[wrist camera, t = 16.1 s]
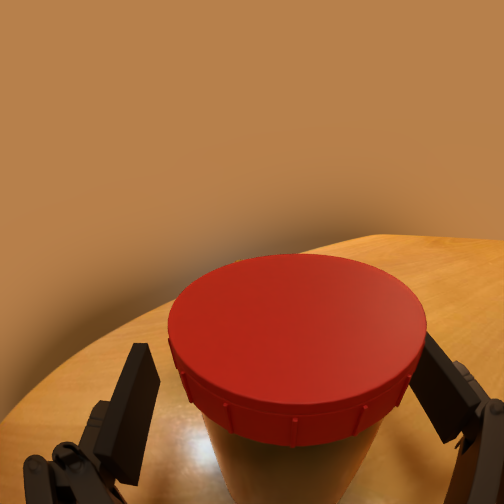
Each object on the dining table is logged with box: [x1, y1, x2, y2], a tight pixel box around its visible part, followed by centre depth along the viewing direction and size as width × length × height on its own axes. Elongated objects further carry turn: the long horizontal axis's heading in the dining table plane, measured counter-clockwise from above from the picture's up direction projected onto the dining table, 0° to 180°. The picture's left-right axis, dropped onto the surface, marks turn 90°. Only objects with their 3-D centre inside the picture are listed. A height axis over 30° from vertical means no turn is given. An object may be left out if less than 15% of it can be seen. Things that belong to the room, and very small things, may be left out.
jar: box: [201, 412, 385, 504], centre depth 11 cm, size 7×7×12 cm
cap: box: [168, 254, 427, 448], centre depth 9 cm, size 8×8×2 cm
